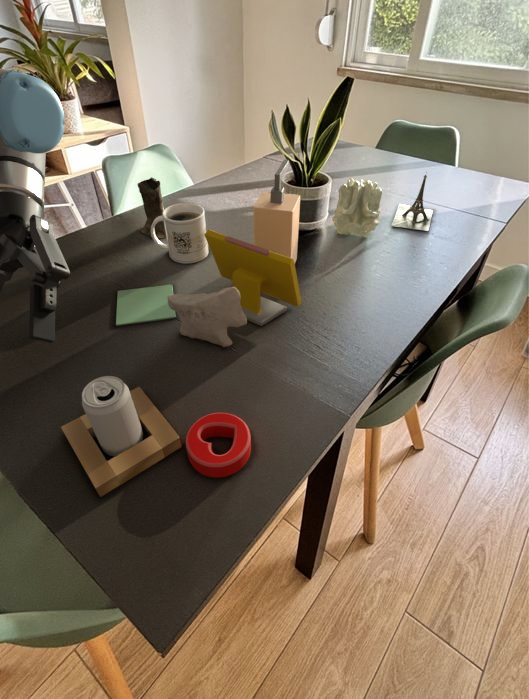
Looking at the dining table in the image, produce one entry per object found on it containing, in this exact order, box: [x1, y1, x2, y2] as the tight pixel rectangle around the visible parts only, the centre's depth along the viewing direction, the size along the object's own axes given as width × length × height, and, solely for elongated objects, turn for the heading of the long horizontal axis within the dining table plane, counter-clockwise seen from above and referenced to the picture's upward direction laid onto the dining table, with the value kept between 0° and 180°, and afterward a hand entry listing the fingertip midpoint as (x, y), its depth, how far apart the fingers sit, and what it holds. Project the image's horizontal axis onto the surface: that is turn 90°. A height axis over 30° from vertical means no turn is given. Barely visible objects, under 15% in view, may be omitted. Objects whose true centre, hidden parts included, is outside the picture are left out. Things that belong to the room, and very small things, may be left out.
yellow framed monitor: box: [204, 229, 302, 327], centre depth 86 cm, size 20×8×16 cm, turn 56°
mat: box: [115, 284, 177, 327], centre depth 92 cm, size 12×12×1 cm
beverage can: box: [81, 375, 144, 457], centre depth 62 cm, size 6×6×12 cm
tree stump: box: [137, 177, 166, 239], centre depth 112 cm, size 10×10×13 cm
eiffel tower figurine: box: [391, 171, 434, 232], centre depth 117 cm, size 15×10×13 cm
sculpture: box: [167, 286, 248, 348], centre depth 78 cm, size 17×5×15 cm, turn 69°
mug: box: [150, 202, 209, 264], centre depth 104 cm, size 10×12×11 cm
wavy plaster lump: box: [331, 177, 383, 238], centre depth 114 cm, size 18×13×16 cm
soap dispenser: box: [252, 159, 301, 264], centre depth 97 cm, size 13×9×22 cm
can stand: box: [60, 386, 183, 498], centre depth 65 cm, size 13×13×2 cm
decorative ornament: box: [185, 412, 252, 478], centre depth 64 cm, size 10×10×3 cm
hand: (7, 354), depth 52 cm, fingers open, 13 cm apart
